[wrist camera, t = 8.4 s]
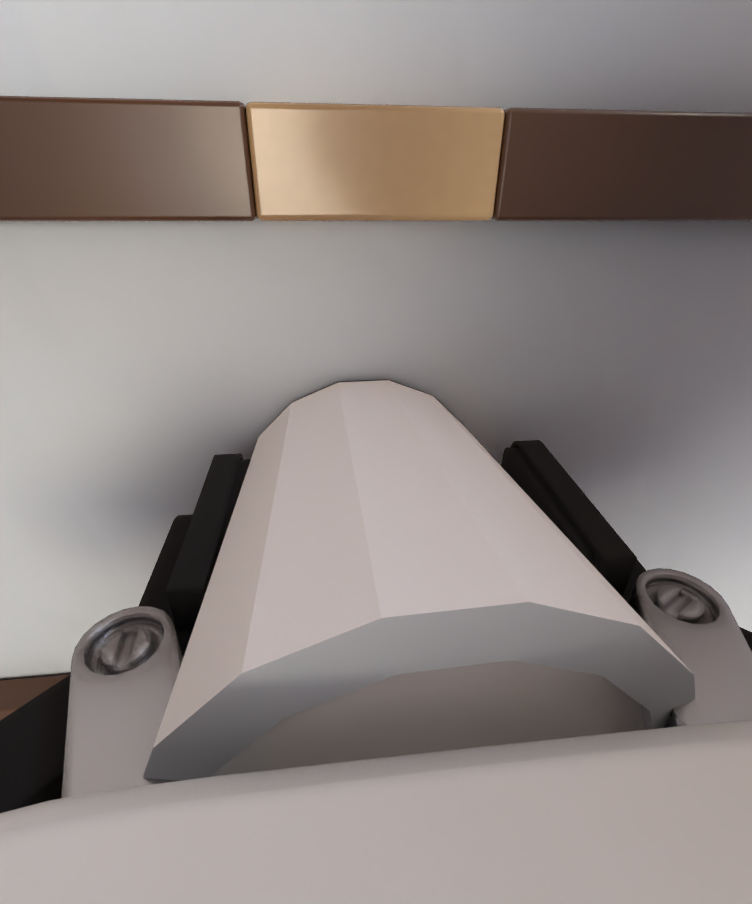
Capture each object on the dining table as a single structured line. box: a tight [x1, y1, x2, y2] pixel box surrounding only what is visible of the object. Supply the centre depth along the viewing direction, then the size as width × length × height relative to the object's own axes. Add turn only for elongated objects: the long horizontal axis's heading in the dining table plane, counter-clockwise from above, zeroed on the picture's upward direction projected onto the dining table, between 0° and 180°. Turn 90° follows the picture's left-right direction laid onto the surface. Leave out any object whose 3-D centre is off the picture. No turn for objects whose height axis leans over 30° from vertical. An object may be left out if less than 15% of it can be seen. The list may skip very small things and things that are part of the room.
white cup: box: [143, 380, 696, 780], centre depth 9 cm, size 7×7×7 cm
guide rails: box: [0, 96, 752, 720], centre depth 12 cm, size 22×15×1 cm
